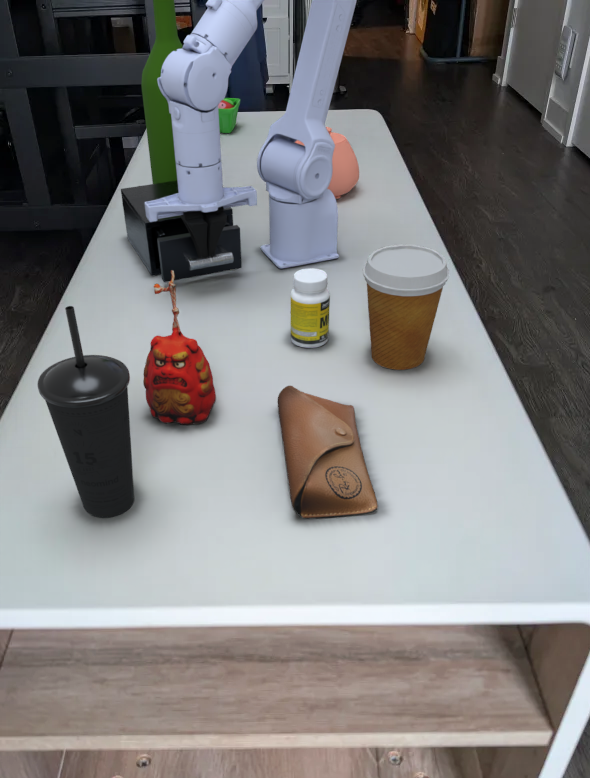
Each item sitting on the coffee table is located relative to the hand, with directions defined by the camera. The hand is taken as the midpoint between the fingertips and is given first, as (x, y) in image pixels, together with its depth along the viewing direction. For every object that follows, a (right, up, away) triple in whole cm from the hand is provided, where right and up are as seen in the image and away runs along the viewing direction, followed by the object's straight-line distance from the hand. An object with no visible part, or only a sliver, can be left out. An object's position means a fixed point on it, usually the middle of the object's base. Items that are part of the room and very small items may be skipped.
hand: (206, 264), depth 108 cm
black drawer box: (-5, +6, +12) cm, 14 cm away
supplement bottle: (+14, -12, -9) cm, 21 cm away
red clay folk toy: (-1, -23, -21) cm, 31 cm away
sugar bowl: (+17, +22, +30) cm, 40 cm away
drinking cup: (-7, -33, -32) cm, 46 cm away
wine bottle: (-6, +16, +24) cm, 30 cm away
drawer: (-2, +2, +6) cm, 7 cm away
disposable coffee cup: (+24, -15, -13) cm, 31 cm away
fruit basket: (-4, +46, +59) cm, 75 cm away
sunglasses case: (+14, -28, -28) cm, 42 cm away
